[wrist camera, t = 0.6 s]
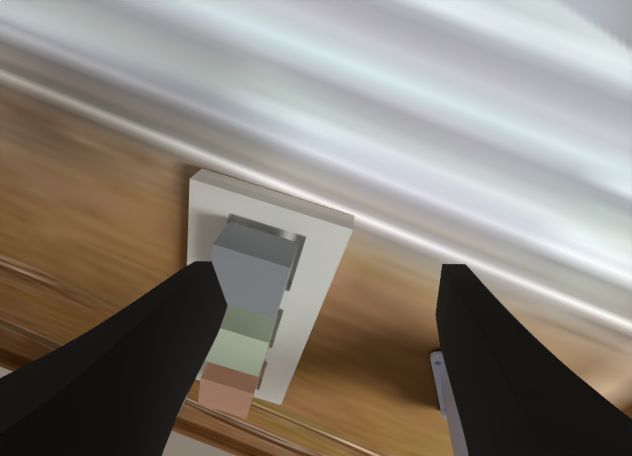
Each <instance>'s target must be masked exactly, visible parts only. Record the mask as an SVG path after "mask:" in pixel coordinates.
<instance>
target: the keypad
mask: <svg viewBox="0 0 632 456" xmlns="http://www.w3.org/2000/svg"><path fill="white" fill-rule="evenodd" d="M230 221H231V222H234V223H237V224H240V225H244V226H247V227H250V228H253V229H256V230H260V231H263V232H266V233H269V234H272V235H276V236H279V237H282V238H285V239H288V240H292V241H295V242H298V243H299V245H298V249H297V252H296V255H295V259H294V262H293V265H292V269H291V272H290V275H289V279H288V282H287V286H286V289H285V292H284V295H283V298H282V301H281V304H280V307H279V310H278V313H277V315H278V316H277V319H276V323H275V326H274V329H273V333H272V336H271V340H270V343H269V346H268V350H267V353H266V356H265V359H264V362H263V365H262V370H261V373H260V377H259V380H258V383H257V387H256V390H255V393H254V396H253V397H256V398H259V399H263V400H266V401H269V402H272V403H276V404H279V405H281V403H282V401H283V398H284V396H285V394H286V391H287V389H288V386H289V384H290V381H291V379H292V377H293V374H294V372H295V369H296V367H297V364H298V362H299V360H300V357H301V355H302V352H303V350H304V347H305V345H306V343H307V340H308V338H309V335H310V333H311V330H312V328H313V326H314V323H315V321H316V318H317V316H318V313H319V311H320V309H321V306H322V304H323V301H324V299H325V296H326V294H327V292H328V289H329V287H330V284H331V282H332V279H333V277H334V275H335V272H336V270H337V267H338V265H339V262H340V260H341V258H342V255H343V253H344V250H345V248H346V245H347V243H348V241H349V238H350V236H351V233H352V231H353V224H354V216H352V215H349V214H346V213H343V212H340V211H336V210H333V209H330V208H327V207H324V206H321V205H317V204H314V203H311V202H308V201H305V200H301V199H298V198H295V197H292V196H289V195H286V194H282V193H279V192H276V191H273V190H270V189H267V188H263V187H260V186H257V185H254V184H251V183H248V182H244V181H241V180H238V179H235V178H232V177H228V176H225V175H222V174H219V173H216V172H213V171H209V170H206V169H203V168H202V169H201V170H200V171H198V172H197V173H196V174H195V175H194V176H192V177H191V178H190V187H189V218H188V250H187V266H188V265H189V264H191V263H193V262H194V261H211V258H212V247H213V243H214V242H215V241H216V239H217V238H218V236H219V235H220V234H221V232H222V231H223V230H224V228H225V227H226V226H227V224H228V223H229V222H230ZM207 364H208V362H207V361H204V363H203V365H202V367H201V369H200V371H199V373H198V375H197V377H196V379H197V380H200V379H201V376H202V374H203V372H204V370H205V368H206V366H207Z"/></svg>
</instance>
